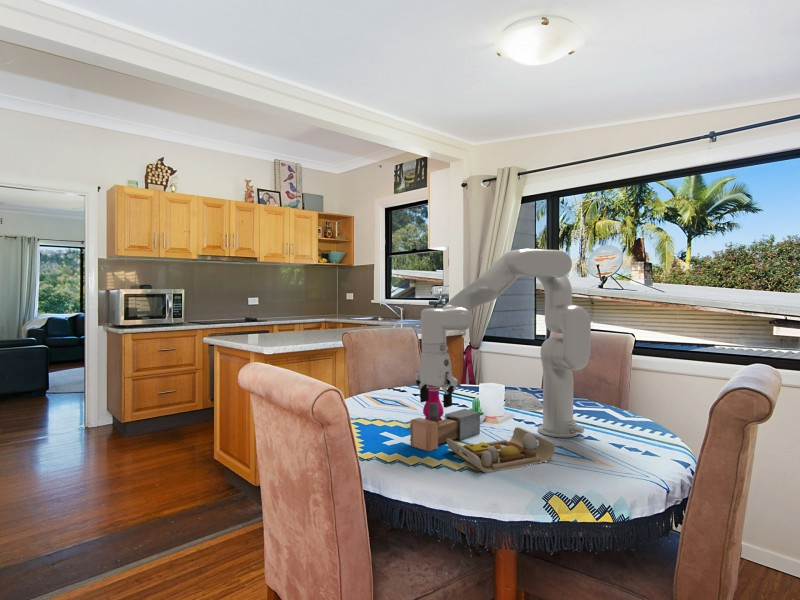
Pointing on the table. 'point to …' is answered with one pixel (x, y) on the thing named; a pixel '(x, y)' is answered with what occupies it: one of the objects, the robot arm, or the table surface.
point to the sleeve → (466, 422)
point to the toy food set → (506, 451)
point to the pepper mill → (433, 401)
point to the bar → (443, 424)
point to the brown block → (424, 434)
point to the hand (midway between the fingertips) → (436, 404)
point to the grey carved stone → (522, 401)
